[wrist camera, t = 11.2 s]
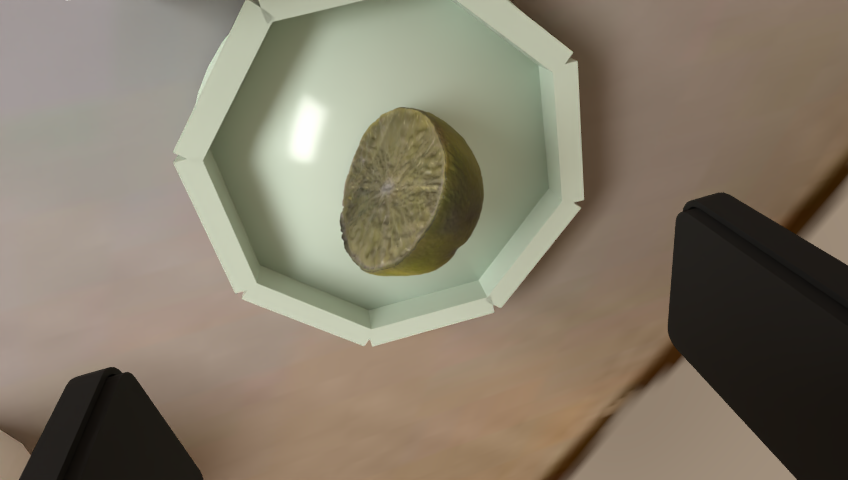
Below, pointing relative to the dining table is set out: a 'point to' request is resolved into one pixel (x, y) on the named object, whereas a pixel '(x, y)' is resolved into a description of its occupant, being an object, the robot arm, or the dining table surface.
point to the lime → (410, 195)
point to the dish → (339, 139)
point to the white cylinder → (12, 457)
